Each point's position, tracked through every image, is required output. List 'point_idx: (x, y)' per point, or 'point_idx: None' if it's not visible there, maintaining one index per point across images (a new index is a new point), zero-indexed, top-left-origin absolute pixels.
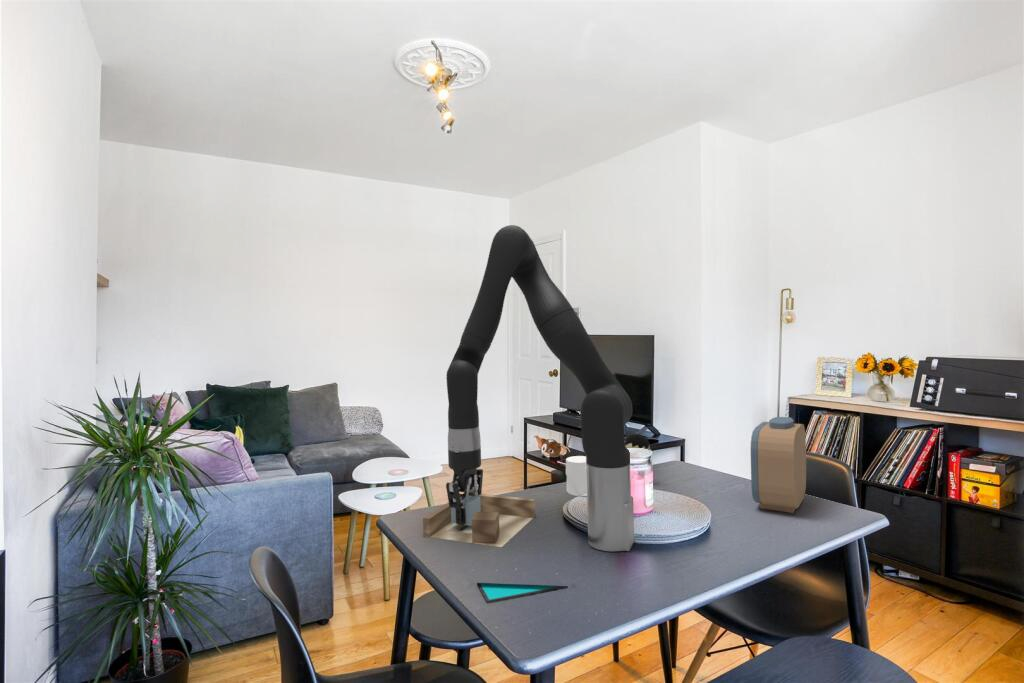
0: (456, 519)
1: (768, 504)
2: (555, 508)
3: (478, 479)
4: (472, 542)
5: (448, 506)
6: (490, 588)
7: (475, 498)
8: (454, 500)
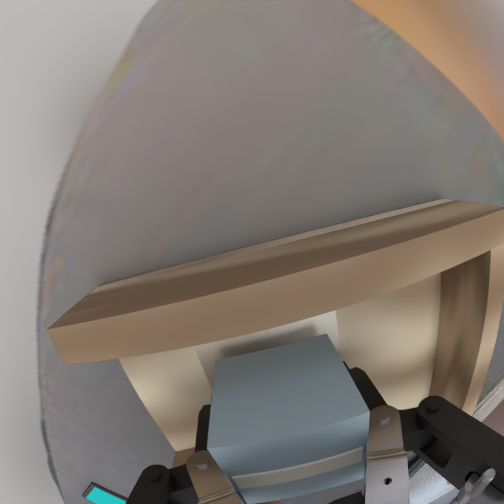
0: (199, 419)
1: None
2: (493, 381)
3: (460, 484)
4: (175, 453)
5: (283, 322)
6: (99, 497)
7: (330, 484)
8: (194, 487)
